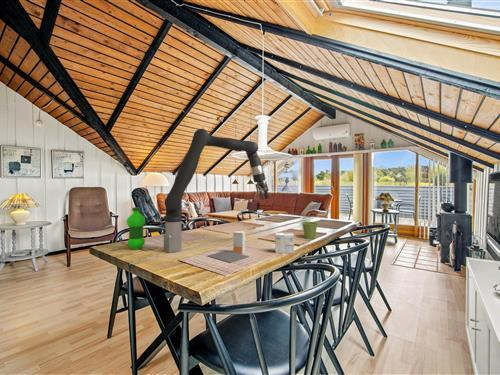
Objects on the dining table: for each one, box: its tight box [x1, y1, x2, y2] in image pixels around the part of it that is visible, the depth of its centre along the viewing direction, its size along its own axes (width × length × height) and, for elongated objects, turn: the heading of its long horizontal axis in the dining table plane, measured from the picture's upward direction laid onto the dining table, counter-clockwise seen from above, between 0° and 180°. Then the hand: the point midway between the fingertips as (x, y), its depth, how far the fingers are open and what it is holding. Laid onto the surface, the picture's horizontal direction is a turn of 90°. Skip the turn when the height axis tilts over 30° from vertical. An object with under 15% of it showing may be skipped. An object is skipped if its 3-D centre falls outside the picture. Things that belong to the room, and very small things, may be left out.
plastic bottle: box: [126, 206, 146, 250], centre depth 155 cm, size 10×10×25 cm
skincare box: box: [232, 230, 246, 255], centre depth 145 cm, size 6×4×12 cm
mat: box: [207, 250, 250, 264], centre depth 137 cm, size 14×18×1 cm
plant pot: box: [301, 221, 319, 240], centre depth 184 cm, size 12×12×11 cm
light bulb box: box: [274, 232, 295, 255], centre depth 146 cm, size 11×7×11 cm, turn 84°
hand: (264, 198), depth 158 cm, fingers open, 8 cm apart
